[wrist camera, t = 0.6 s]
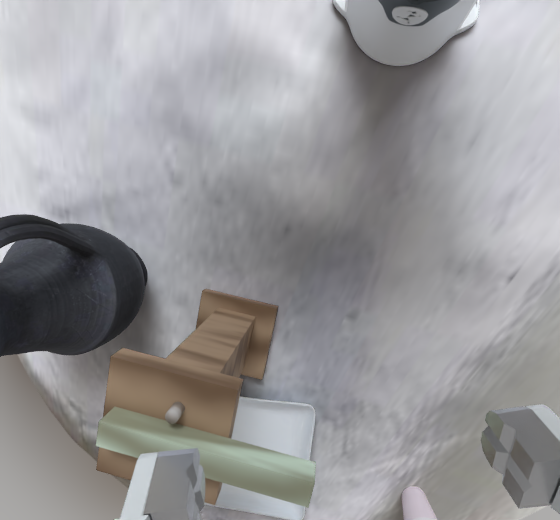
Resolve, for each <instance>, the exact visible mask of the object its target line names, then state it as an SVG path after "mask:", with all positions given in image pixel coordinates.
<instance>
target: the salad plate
mask: <svg viewBox="0 0 560 520" xmlns="http://www.w3.org/2000/svg"><path fill="white" fill-rule="evenodd" d="M314 427H315V409H314V407H313V406H312V405H310V404H307V403H297V402H287V401H275V400H265V399H256V398H249V397H242V396H240V398H239V403H238V408H237V413H236V418H235V422H234V427H233V432H232V437H231V439H234V440H237V441H241V442H244V443H248V444H252V445H255V446H259V447H262V448H266V449H270V450H273V451H277V452H280V453H284V454H287V455H291V456H295V457H298V458H302V459H305V460H309V461H310V455H311V448H312V440H313V433H314ZM204 505H209V506H214V507H220V508H225V509H231V510H237V511H242V512H248V513H253V514H259V515H265V516H270V517H275V518H280V519H285V520H303V518H304V516H305V511H306V507H304V506H301V505H297V504H294V503H290V502H287V501H284V500H280V499H277V498H273V497H270V496H266V495H263V494H259V493H256V492H253V491H249V490H246V489H242V488H239V487H235V486H232V485H228V484H225V483H222V487H221V490H220V493H219V496H218V498H217V501H216V504H215V505H212V504H209V503H204Z"/></svg>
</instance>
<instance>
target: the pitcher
mask: <svg viewBox="0 0 560 520" xmlns="http://www.w3.org/2000/svg"><path fill="white" fill-rule="evenodd" d="M12 242H15V243H14V244H13V245H12V246H11V248H10V249H9V250H8V252H7V253H6V255H5V257H4V259H3V262H1V263H0V357H1V356H4V355H13V354H21V353H27V352H34V351H48V352H52V353H56V354H61V355H78V354H82V353H86V352H89V351H91V350H93V349H96V348H98V347H100V346H101V345H103V344H105V343H107V342H109V341H110V340H112V339H113V338H115V337H116V336H117V335H119V334H120V333H121V332H122V331H123V330H124V329H126V328H127V327H128V326H129V324H130V323H131V322H132V321H133V319H134V318H135V316H136V314H137V313H138V311H139V309H140V306H141V304H142V300H143V296H144V289H145V285H146V281H147V271H146V267H145V265H144V263H143V261H142V259H141V258H140V257H139V255H138V254H137V253H136V252H135V251H134V250H133V249H131V248H129V247H128V246H127V245H126V244H125V243H123V242H122V241H121V240H119V239H118V238H116V237H115V236H113V235H111V234H109V233H107V232H105V231H102V230H100V229H97V228H94V227H90V226H86V225H81V224H58V223H56V222H53V221H50V220H48V219H45V218H41V217H38V216H34V215H10V216H6V217H2V218H0V248H1V247H3V246H5V245H7V244H9V243H12Z"/></svg>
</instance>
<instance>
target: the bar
mask: <svg viewBox="0 0 560 520" xmlns="http://www.w3.org/2000/svg"><path fill="white" fill-rule="evenodd" d="M96 446H98V447H101V448H105V449H108V450H111V451H115V452H118V453H122V454H125V455H129V456H132V457H136V458H139V456H140V455H141V454H144V453H153V452H162V451H172V450H182V449H193V448H198V450H199V454H200V462H199V465H201V466H202V467H203V469H204V474H205V478H208V479H211V480H215V481H218V482H222V483H225V484H228V485H232V486H235V487H239V488H242V489H246V490H249V491H253V492H256V493H259V494H263V495H266V496H270V497H273V498H277V499H280V500H284V501H287V502H290V503H294V504H297V505H301V506H304V507H309V503H310V499H311V495H312V491H313V487H314V483H315V466H316V462H313V461H309V460H305V459H302V458H298V457H295V456H291V455H287V454H284V453H280V452H277V451H273V450H270V449H266V448H262V447H259V446H255V445H252V444H248V443H244V442H241V441H237V440H234V439H230V438H226V437H223V436H219V435H216V434H212V433H208V432H205V431H201V430H198V429H194V428H190V427H187V426H183V425H180V424H176V423H174V424H170V423H168V422H167V421H165V420H162V419H158V418H154V417H151V416H147V415H144V414H140V413H136V412H133V411H129V410H126V409H122V408H118V407H114V408H113V409H112V410H111V411H109V412H108V413H107V414H106V415H105V416H104V417H103V418H102V419H101V420H100V421H99V424H98V432H97V440H96Z"/></svg>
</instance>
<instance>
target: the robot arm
mask: <svg viewBox="0 0 560 520" xmlns="http://www.w3.org/2000/svg"><path fill="white" fill-rule="evenodd" d="M333 4H334V6H335V7H336V9H337V10H338V11H339V12H340V13H341V14H342V15H343V16H344V17H345V18H346V20H347V22H348V24H349V27H350V30H351V33H352V35H353V38H354V40H355V41H356V43H357V45H358V46H359V47H360V48H361V50H362V51H363V52H364V53H365V54H367V55H368V56H369V57H370V58H372V59H374V60H376V61H378V62H380V63H383V64H386V65H392V66H405V65H411V64H414V63H418V62H420V61H422V60H424V59H426V58H428V57H430V56H431V55H433V54H434V53H435V52H437V51H438V50H439V49H440V48H441V47H442V46H443V45H444V44H445V43H446V42H447V41H448V40H449V39H450V38H451V37H453V36H454V35H457V34H459V33H461V32H463V31H465V30H467V29H469V28H470V27H472V26H473V25H474V24H475V22H476V20H477V18H478V15H479V5H480V0H333ZM485 421H486V422H487V424H488V425H489V426H488V427H487V428H486V429H485V430H484V431H483V432H482V437H481V443H482V448H483V452H484V454H485V456H486V458H487V460H488V462H489V463H490V465H491V467H492V468H494V469H495V470H497V471H498V472H500V473H501V474H503V480H502V484H503V485H504V487H505V488H506V490H507V491H508V493H509V494H510V496H511V497H512V499H513V500H514V502H515V504H516V505H517V507H518V508H528V507H538V506H547V505H551V508H553V509H554V510H555V511H557V512H558V513H559V514H560V418H559V417H558V416H557V415H556V414H555V413H554V412H553V411H552V410H551V409H550V408H549V407H547V406H546V405H544V404H540V405H532V406H525V407H523V406H521V407H514V408H507V409H500V410H493V411H489V412H488V413H487V415H486V419H485ZM199 462H200V454H199V450H198V448H193V449H182V450H172V451H162V452H153V453H144V454H141V455H140V456H139V458H138V460H137V462H136V465H135V469H134V472H133V475H132V479H131V482H130V486H129V489H128V493H127V496H126V499H125V503H124V506H123V510H122V513H121V516H120V518H118V519H114V520H202V519H201V516H200V511H201V509H202V508H203V506H204V503H205V474H204V469H203V467H202V466H201V465H199Z"/></svg>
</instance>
